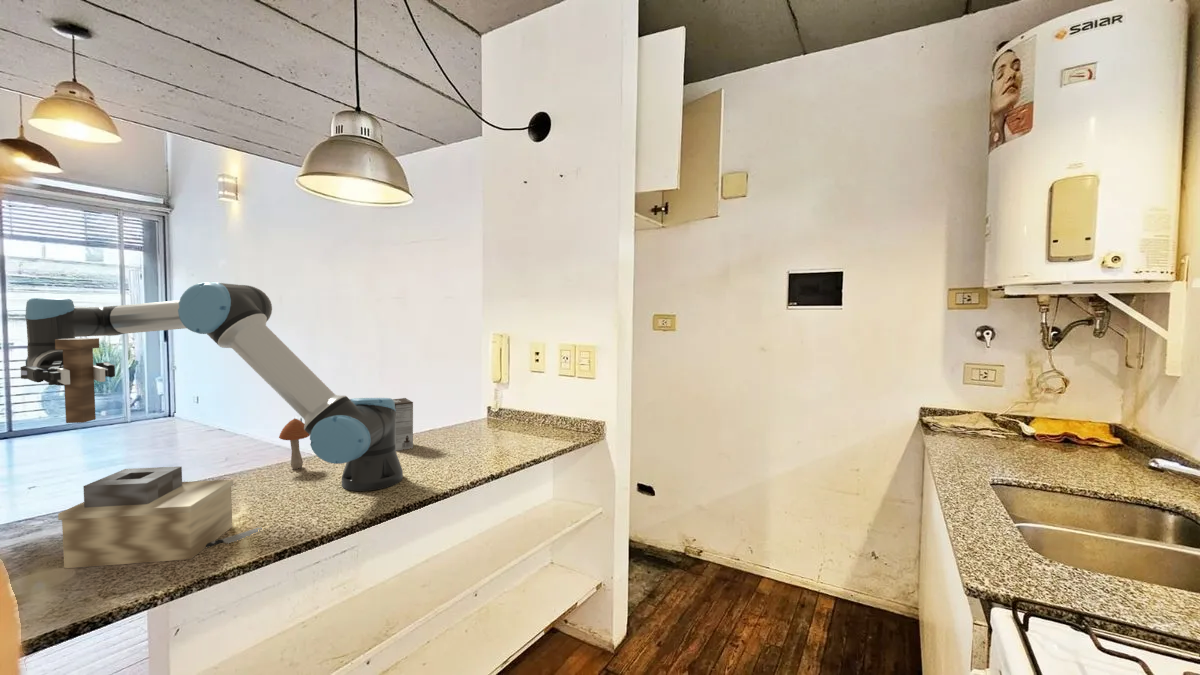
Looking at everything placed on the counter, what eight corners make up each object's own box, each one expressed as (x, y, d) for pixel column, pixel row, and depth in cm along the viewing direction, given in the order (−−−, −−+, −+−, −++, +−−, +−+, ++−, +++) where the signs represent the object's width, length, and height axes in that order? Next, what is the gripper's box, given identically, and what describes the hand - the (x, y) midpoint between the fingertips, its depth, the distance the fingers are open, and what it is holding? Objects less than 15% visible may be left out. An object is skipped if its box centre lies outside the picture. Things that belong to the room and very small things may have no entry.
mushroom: (285, 475, 138) (283, 422, 138) (275, 468, 144) (274, 418, 143) (315, 468, 144) (314, 418, 144) (305, 462, 150) (304, 414, 149)
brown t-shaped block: (102, 418, 103) (99, 338, 102) (84, 423, 99) (81, 339, 98) (77, 419, 103) (74, 338, 102) (58, 423, 98) (55, 339, 97)
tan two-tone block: (234, 526, 106) (232, 461, 105) (191, 559, 91) (189, 485, 91) (123, 533, 102) (120, 465, 101) (60, 569, 87) (57, 491, 87)
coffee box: (386, 445, 170) (386, 399, 169) (405, 442, 174) (405, 397, 173) (394, 451, 163) (394, 403, 162) (414, 448, 167) (413, 401, 166)
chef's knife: (292, 524, 108) (285, 521, 109) (292, 519, 108) (285, 516, 109) (185, 561, 92) (178, 556, 93) (185, 555, 91) (178, 550, 93)
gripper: (114, 379, 118) (143, 389, 105) (1, 388, 103) (19, 401, 90) (113, 348, 117) (142, 354, 104) (-1, 353, 103) (17, 360, 90)
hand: (85, 376), depth 97 cm, fingers closed on brown t-shaped block, 4 cm apart
